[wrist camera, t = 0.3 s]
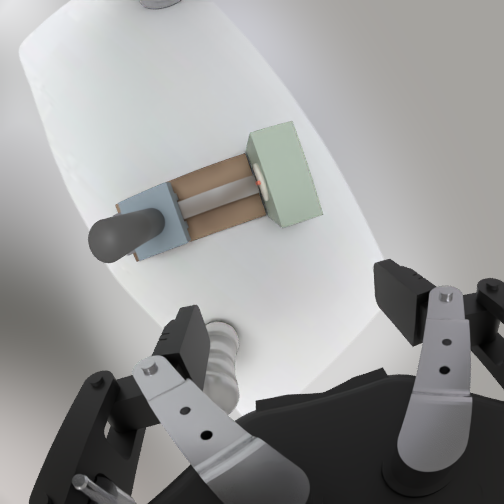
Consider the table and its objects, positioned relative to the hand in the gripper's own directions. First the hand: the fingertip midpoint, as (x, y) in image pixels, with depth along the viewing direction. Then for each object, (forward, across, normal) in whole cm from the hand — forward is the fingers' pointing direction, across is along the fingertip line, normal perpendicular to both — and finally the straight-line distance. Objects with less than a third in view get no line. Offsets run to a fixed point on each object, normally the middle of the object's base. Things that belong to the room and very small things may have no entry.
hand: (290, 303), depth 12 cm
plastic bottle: (+27, +11, +18) cm, 34 cm away
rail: (+28, +10, -3) cm, 30 cm away
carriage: (+26, +14, -2) cm, 29 cm away
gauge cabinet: (+29, -3, -4) cm, 29 cm away
